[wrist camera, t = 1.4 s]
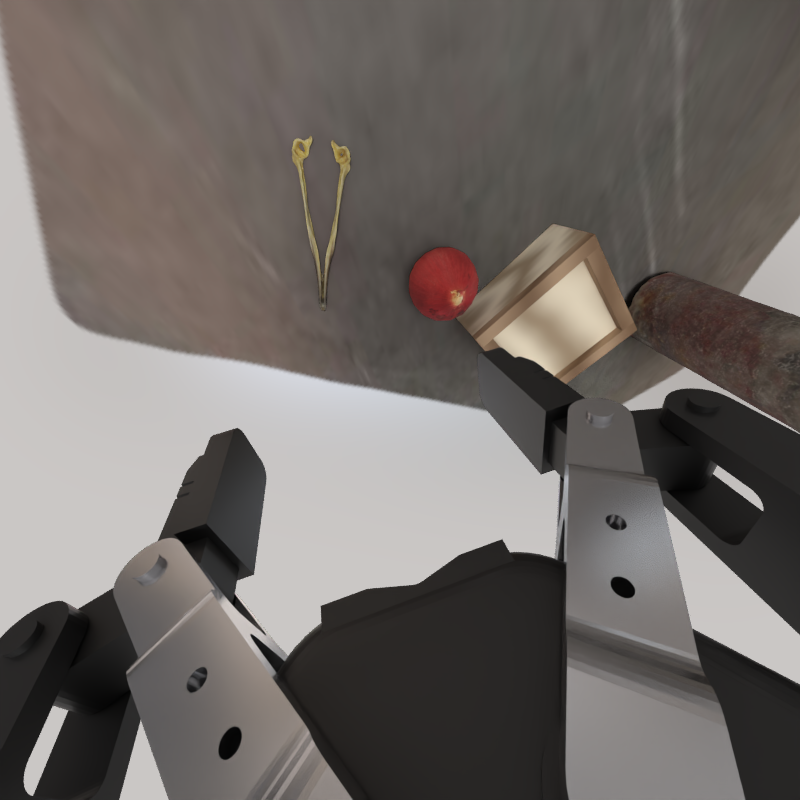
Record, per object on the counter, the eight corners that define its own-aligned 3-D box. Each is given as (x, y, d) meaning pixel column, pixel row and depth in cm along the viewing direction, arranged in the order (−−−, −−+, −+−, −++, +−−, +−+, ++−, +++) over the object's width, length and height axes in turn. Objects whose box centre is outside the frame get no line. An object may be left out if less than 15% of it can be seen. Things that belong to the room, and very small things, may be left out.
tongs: (310, 309, 31) (309, 316, 29) (291, 136, 24) (288, 132, 22) (354, 309, 32) (356, 315, 30) (348, 140, 25) (350, 137, 23)
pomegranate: (466, 289, 32) (502, 319, 26) (413, 313, 32) (436, 349, 26) (451, 228, 29) (488, 246, 22) (391, 256, 29) (411, 282, 23)
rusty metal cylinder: (651, 337, 40) (865, 449, 25) (604, 333, 39) (801, 451, 23) (691, 274, 36) (981, 360, 20) (640, 267, 34) (913, 354, 19)
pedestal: (552, 223, 30) (594, 234, 25) (597, 309, 36) (637, 329, 32) (454, 315, 33) (475, 339, 29) (510, 379, 40) (535, 406, 35)
